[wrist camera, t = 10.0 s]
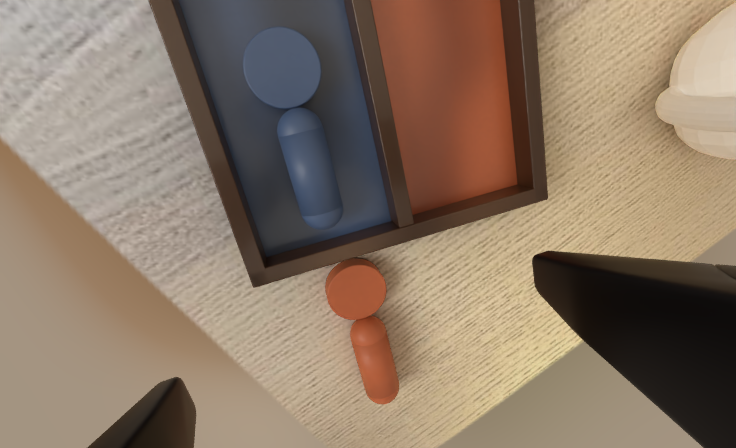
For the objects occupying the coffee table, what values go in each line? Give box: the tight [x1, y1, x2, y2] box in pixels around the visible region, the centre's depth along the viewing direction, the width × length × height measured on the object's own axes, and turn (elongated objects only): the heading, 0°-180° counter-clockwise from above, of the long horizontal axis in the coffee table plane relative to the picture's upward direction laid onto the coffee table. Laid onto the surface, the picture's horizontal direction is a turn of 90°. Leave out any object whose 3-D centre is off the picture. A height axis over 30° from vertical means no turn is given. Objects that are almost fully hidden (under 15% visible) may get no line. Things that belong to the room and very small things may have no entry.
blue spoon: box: [243, 26, 343, 230], centre depth 16 cm, size 9×3×2 cm, turn 13°
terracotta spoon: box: [325, 258, 399, 404], centre depth 20 cm, size 9×3×2 cm, turn 13°
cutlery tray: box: [149, 0, 548, 288], centre depth 17 cm, size 16×14×2 cm
